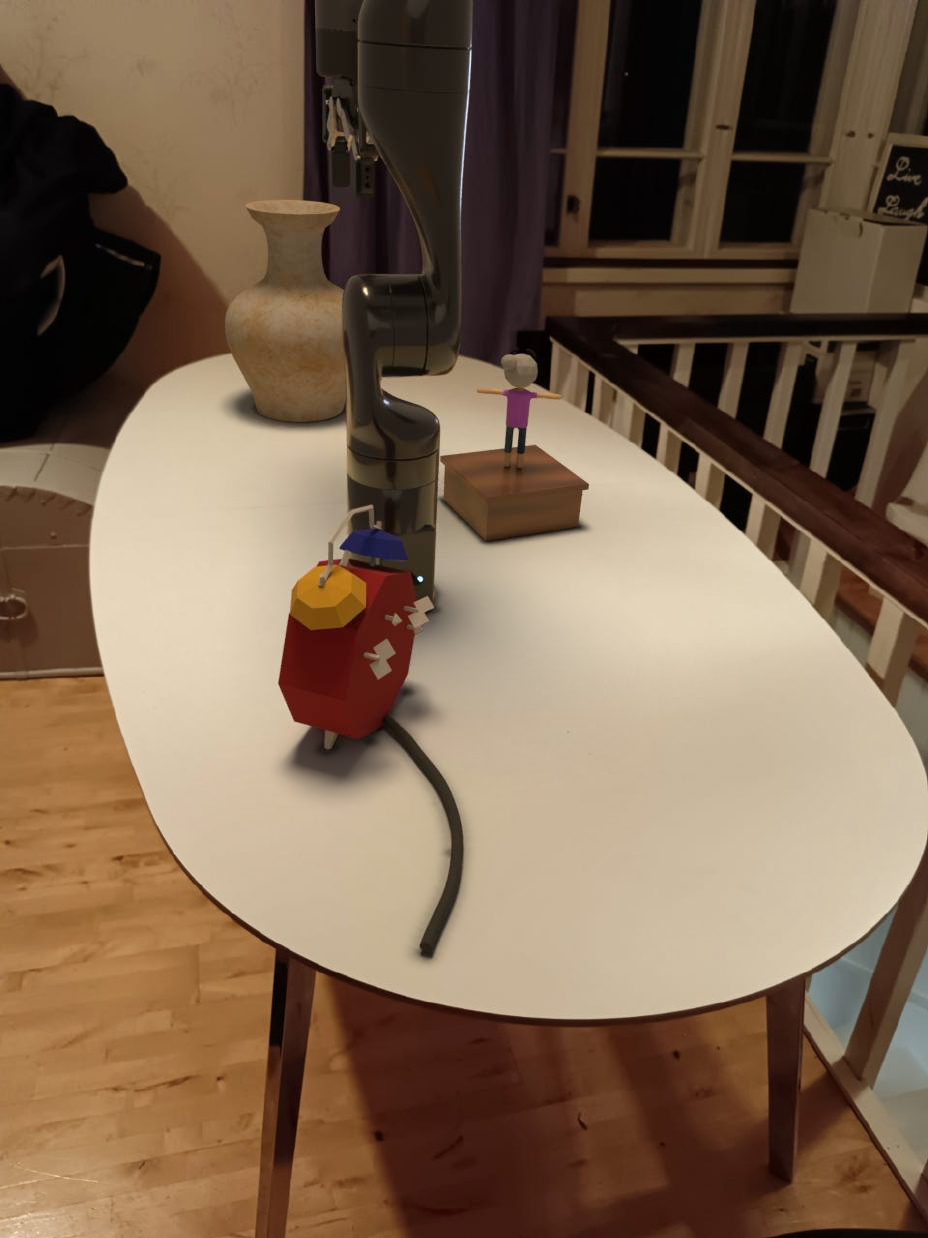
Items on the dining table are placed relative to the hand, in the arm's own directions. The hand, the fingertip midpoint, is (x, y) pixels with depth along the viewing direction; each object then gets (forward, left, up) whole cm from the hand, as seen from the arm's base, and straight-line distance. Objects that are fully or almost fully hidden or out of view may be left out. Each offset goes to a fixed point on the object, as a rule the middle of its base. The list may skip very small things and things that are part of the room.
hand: (352, 192), depth 110 cm
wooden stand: (-15, -16, -36) cm, 42 cm away
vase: (+32, -2, -36) cm, 49 cm away
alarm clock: (-50, +16, -36) cm, 64 cm away
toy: (-15, -16, -30) cm, 37 cm away
